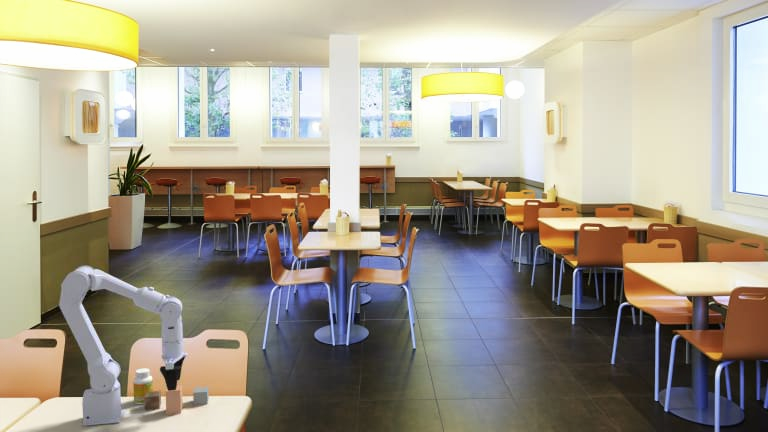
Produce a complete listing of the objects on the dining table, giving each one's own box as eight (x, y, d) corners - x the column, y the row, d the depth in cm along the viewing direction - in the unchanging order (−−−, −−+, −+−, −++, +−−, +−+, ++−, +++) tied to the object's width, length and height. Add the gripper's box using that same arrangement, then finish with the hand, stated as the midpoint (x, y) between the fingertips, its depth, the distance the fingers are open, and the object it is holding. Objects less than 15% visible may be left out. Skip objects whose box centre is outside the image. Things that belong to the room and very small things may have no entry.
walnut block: (144, 410, 164) (144, 397, 164) (146, 405, 168) (146, 392, 168) (159, 409, 165) (159, 396, 165) (161, 403, 169) (160, 390, 169)
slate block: (193, 405, 168) (193, 392, 167) (195, 400, 172) (194, 387, 171) (207, 404, 169) (207, 391, 168) (208, 399, 172) (208, 386, 172)
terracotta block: (166, 414, 161) (165, 391, 161) (168, 408, 165) (167, 386, 165) (180, 413, 162) (180, 390, 162) (182, 407, 166) (182, 385, 165)
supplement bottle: (147, 405, 168) (146, 373, 167) (130, 404, 168) (129, 373, 167) (156, 397, 173) (155, 367, 172) (139, 397, 173) (138, 367, 173)
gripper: (183, 346, 156) (185, 393, 157) (189, 331, 170) (191, 374, 171) (156, 348, 154) (158, 395, 155) (165, 333, 168) (166, 376, 169)
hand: (173, 384), depth 163 cm, fingers open, 7 cm apart
